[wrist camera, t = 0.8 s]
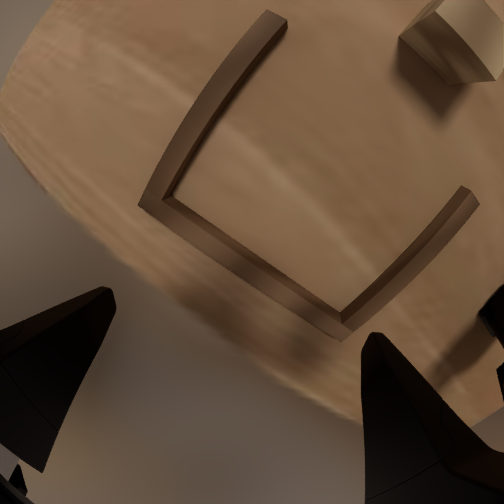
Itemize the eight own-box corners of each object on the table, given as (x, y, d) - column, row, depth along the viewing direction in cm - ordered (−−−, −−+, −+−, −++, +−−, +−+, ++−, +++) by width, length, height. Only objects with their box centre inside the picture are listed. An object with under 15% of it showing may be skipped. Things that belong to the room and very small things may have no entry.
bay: (470, 198, 16) (479, 204, 15) (339, 330, 23) (340, 341, 22) (268, 17, 13) (266, 9, 11) (146, 199, 20) (137, 205, 19)
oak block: (472, 51, 10) (517, 41, 5) (447, 85, 13) (496, 80, 7) (426, 4, 10) (462, -21, 4) (398, 36, 12) (435, 10, 6)
